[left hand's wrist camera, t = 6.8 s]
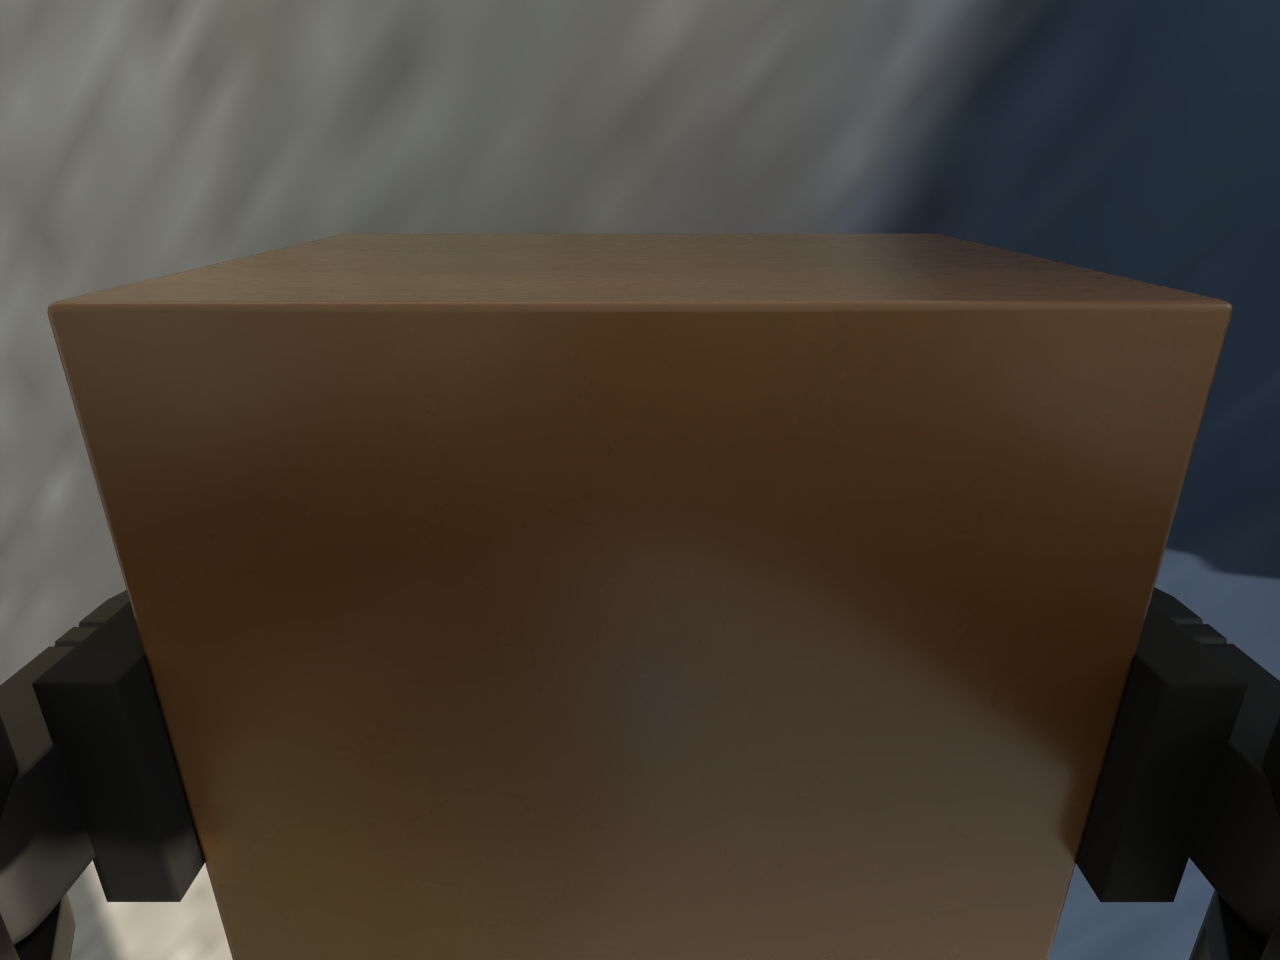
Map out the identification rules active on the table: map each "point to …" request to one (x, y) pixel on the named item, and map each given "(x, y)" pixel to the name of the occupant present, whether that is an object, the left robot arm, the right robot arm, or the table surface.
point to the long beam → (640, 582)
